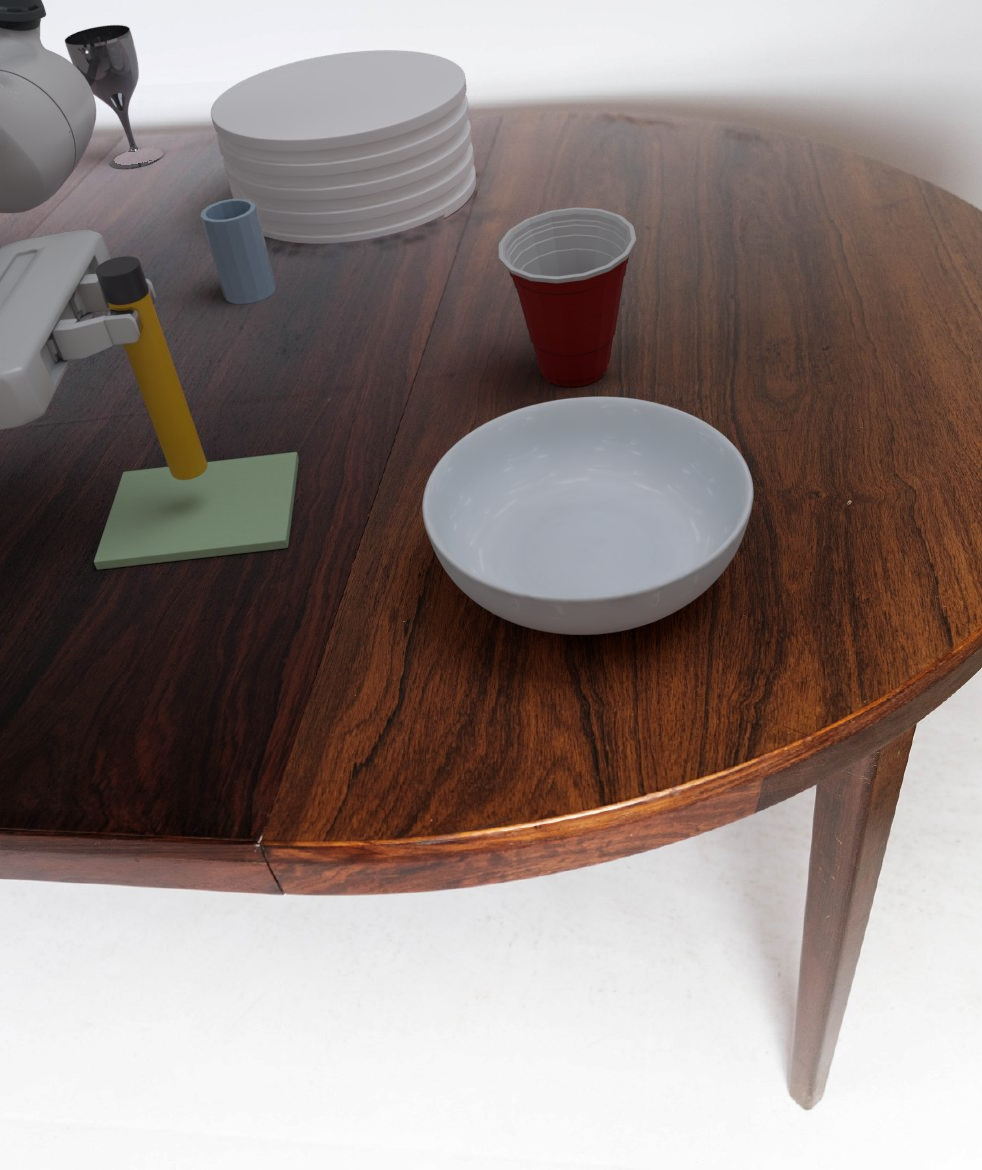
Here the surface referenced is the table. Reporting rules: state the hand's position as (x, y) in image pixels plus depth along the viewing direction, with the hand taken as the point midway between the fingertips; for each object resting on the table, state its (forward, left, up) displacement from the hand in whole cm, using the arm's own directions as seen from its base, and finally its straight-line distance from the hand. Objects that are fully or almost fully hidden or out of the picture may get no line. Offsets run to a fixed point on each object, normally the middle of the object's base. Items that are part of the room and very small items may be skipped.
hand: (145, 309), depth 69 cm
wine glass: (-21, +79, -17) cm, 83 cm away
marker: (-1, 0, -13) cm, 13 cm away
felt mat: (-1, 0, -17) cm, 17 cm away
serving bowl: (+27, -11, -17) cm, 34 cm away
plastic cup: (+29, +14, -17) cm, 36 cm away
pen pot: (-1, +35, -17) cm, 39 cm away
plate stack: (+9, +58, -17) cm, 61 cm away
